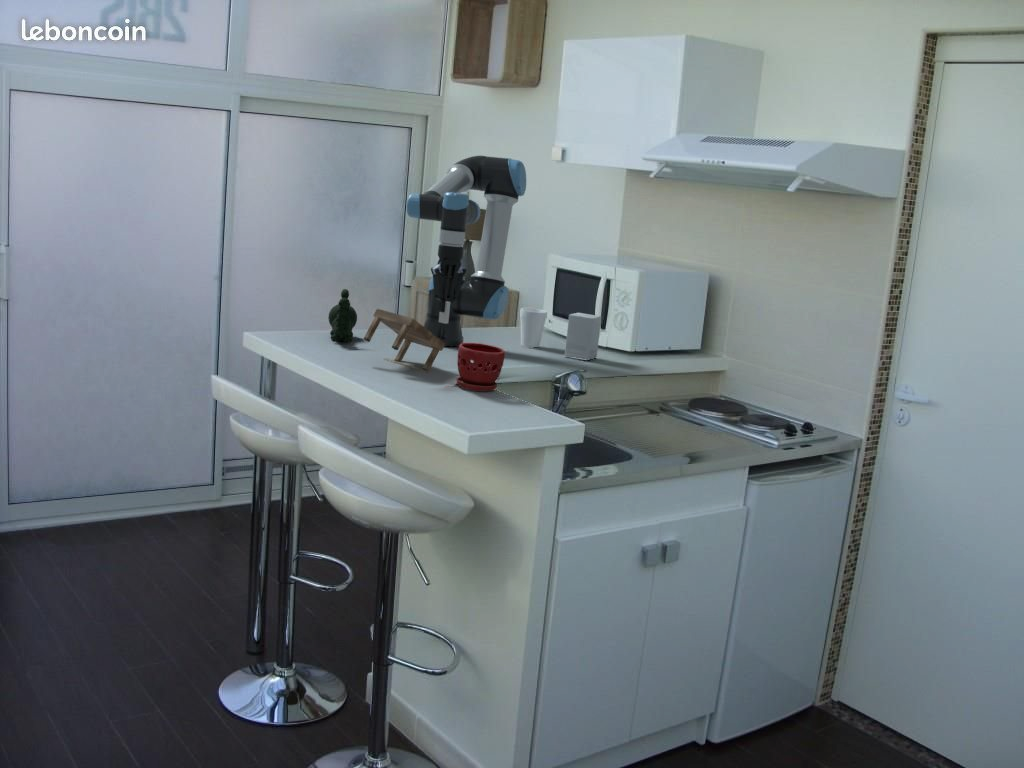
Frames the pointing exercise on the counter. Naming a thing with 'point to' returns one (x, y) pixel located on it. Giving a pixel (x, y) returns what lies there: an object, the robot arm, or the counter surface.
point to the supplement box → (583, 336)
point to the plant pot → (479, 366)
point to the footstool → (406, 334)
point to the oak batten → (406, 365)
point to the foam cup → (532, 326)
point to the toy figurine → (342, 319)
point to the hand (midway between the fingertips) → (443, 322)
